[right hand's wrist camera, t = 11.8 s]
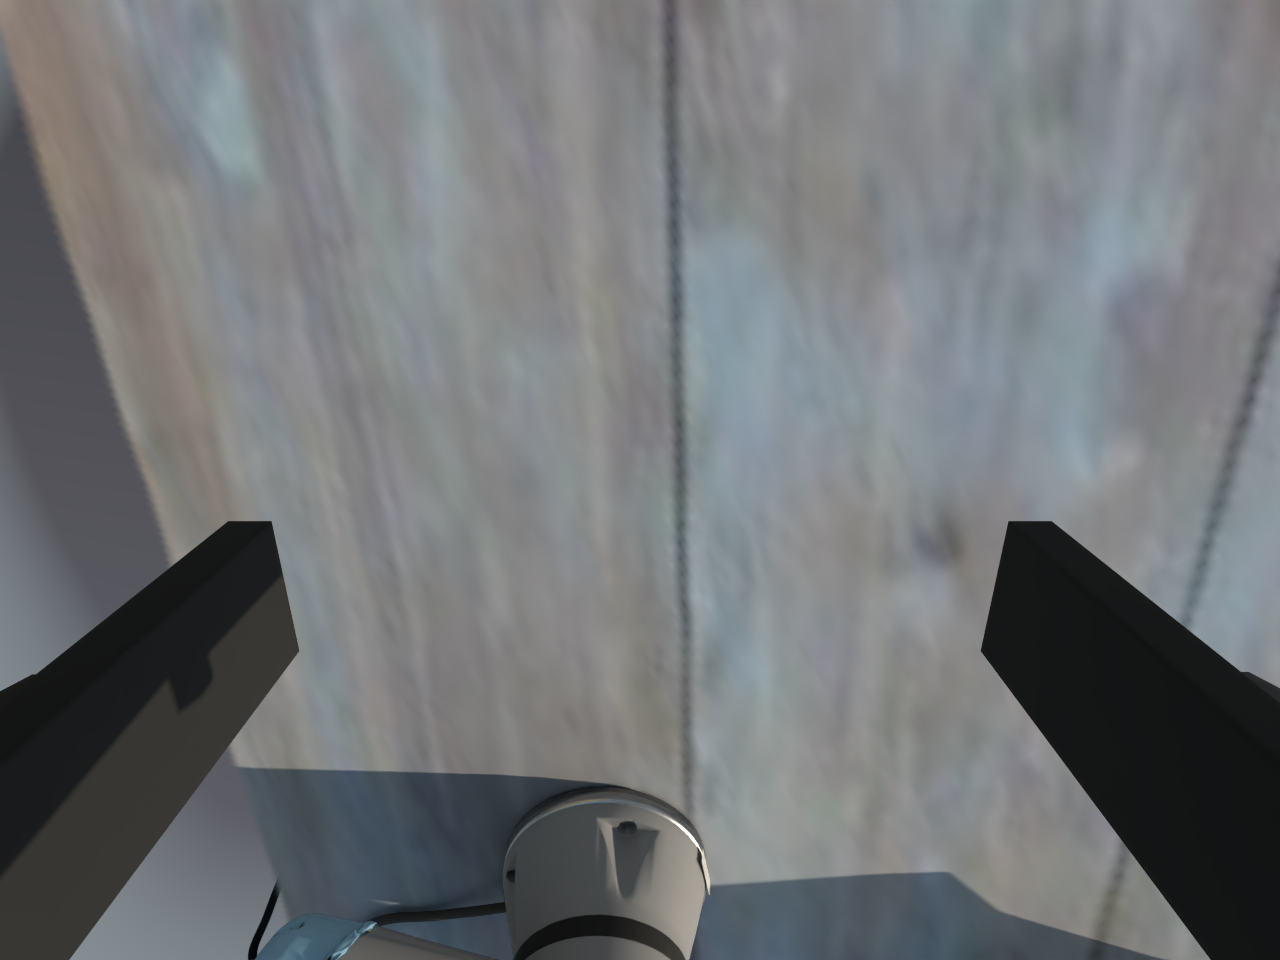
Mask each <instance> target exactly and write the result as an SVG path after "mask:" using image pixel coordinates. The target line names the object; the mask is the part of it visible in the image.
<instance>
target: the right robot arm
mask: <svg viewBox="0 0 1280 960" xmlns="http://www.w3.org/2000/svg"><path fill="white" fill-rule="evenodd" d="M298 652H299V648H298V643H297V638H296V634H295V629H294V624H293V620H292V615H291V610H290V606H289V601H288V596H287V592H286V587H285V582H284V578H283V573H282V568H281V564H280V559H279V554H278V550H277V545H276V540H275V536H274V531H273V526H272V522H271V521H228V522H227V523H226V524H224V525H223V526H222V527H221V528H219V529H218V530H217V531H216V532H214V533H213V534H212V535H211V536H209V537H208V538H207V539H206V540H204V541H203V542H202V543H201V544H199V545H198V546H197V547H196V548H194V549H193V550H192V551H190V552H189V553H188V554H187V555H185V556H184V557H183V558H182V559H180V560H179V561H178V562H177V563H175V564H174V565H173V566H172V567H170V568H169V569H168V570H167V571H165V572H164V573H163V574H162V575H160V576H159V577H158V578H157V579H155V580H154V581H153V582H152V583H150V584H149V585H148V586H147V587H145V588H144V589H143V590H142V591H140V592H139V593H138V594H136V595H135V596H134V597H133V598H131V599H130V600H129V601H128V602H126V603H125V604H124V605H123V606H122V607H120V608H119V609H118V610H116V611H115V612H114V613H113V614H111V615H110V616H109V617H108V618H106V619H105V620H104V621H103V622H101V623H100V624H99V625H98V626H96V627H95V628H94V629H93V630H91V631H90V632H89V633H88V634H86V635H85V636H84V637H82V638H81V639H80V640H79V641H77V642H76V643H75V644H74V645H72V646H71V647H70V648H69V649H67V650H66V651H65V652H64V653H62V654H61V655H60V656H59V657H57V658H56V659H55V660H54V661H52V662H51V663H50V664H49V665H47V666H46V667H45V668H44V669H42V670H41V671H40V672H39V673H37V674H36V675H31V676H29V677H27V678H25V679H23V680H21V681H19V682H17V683H15V684H13V685H11V686H10V687H8V688H6V689H4V690H2V691H0V960H69V959H70V958H71V957H72V955H73V954H74V953H75V951H76V950H77V949H78V947H79V946H80V945H81V943H82V942H83V940H84V939H85V938H86V936H87V935H88V934H89V932H90V931H91V930H92V928H93V927H94V926H95V924H96V923H97V922H98V920H99V919H100V918H101V916H102V915H103V914H104V912H105V911H106V910H107V908H108V907H109V906H110V904H111V903H112V902H113V900H114V899H115V898H116V896H117V895H118V893H119V892H120V891H121V889H122V888H123V887H124V885H125V884H126V883H127V881H128V880H129V879H130V877H131V876H132V875H133V873H134V872H135V871H136V869H137V868H138V867H139V865H140V864H141V863H142V861H143V860H144V859H145V857H146V856H147V855H148V853H149V852H150V851H151V849H152V848H153V847H154V845H155V844H156V842H157V841H158V840H159V838H160V837H161V836H162V834H163V833H164V832H165V830H166V829H167V828H168V826H169V825H170V824H171V822H172V821H173V820H174V818H175V817H176V816H177V814H178V813H179V812H180V810H181V809H182V808H183V806H184V805H185V804H186V802H187V801H188V800H189V798H190V797H191V796H192V794H193V793H194V792H195V790H196V789H197V787H198V786H199V785H200V783H201V782H202V781H203V779H204V778H205V777H206V775H207V774H208V773H209V771H210V770H211V769H212V767H213V766H214V765H215V763H216V762H217V761H218V759H219V758H220V757H221V755H222V754H223V753H224V751H225V750H226V749H227V747H228V746H229V745H230V743H231V742H232V741H233V739H234V738H235V736H236V735H237V734H238V732H239V731H240V730H241V728H242V727H243V726H244V724H245V723H246V722H247V720H248V719H249V718H250V716H251V715H252V714H253V712H254V711H255V710H256V708H257V707H258V706H259V704H260V703H261V702H262V700H263V699H264V698H265V696H266V695H267V694H268V692H269V691H270V690H271V688H272V687H273V685H274V684H275V683H276V681H277V680H278V679H279V677H280V676H281V675H282V673H283V672H284V671H285V669H286V668H287V667H288V665H289V664H290V663H291V661H292V660H293V659H294V657H295V656H296V655H297V653H298ZM981 652H982V653H983V655H984V656H985V657H986V659H987V660H988V661H989V663H990V664H991V665H992V667H993V668H994V669H995V671H996V672H997V673H998V675H999V676H1000V677H1001V679H1002V680H1003V681H1004V683H1005V684H1006V685H1007V687H1008V688H1009V690H1010V691H1011V692H1012V694H1013V695H1014V696H1015V698H1016V699H1017V700H1018V702H1019V703H1020V704H1021V706H1022V707H1023V708H1024V710H1025V711H1026V712H1027V714H1028V715H1029V716H1030V718H1031V719H1032V720H1033V722H1034V723H1035V724H1036V726H1037V727H1038V728H1039V730H1040V731H1041V732H1042V734H1043V735H1044V736H1045V738H1046V739H1047V741H1048V742H1049V743H1050V745H1051V746H1052V747H1053V749H1054V750H1055V751H1056V753H1057V754H1058V755H1059V757H1060V758H1061V759H1062V761H1063V762H1064V763H1065V765H1066V766H1067V767H1068V769H1069V770H1070V771H1071V773H1072V774H1073V775H1074V777H1075V778H1076V779H1077V781H1078V782H1079V783H1080V785H1081V786H1082V787H1083V789H1084V790H1085V792H1086V793H1087V794H1088V796H1089V797H1090V798H1091V800H1092V801H1093V802H1094V804H1095V805H1096V806H1097V808H1098V809H1099V810H1100V812H1101V813H1102V814H1103V816H1104V817H1105V818H1106V820H1107V821H1108V822H1109V824H1110V825H1111V826H1112V828H1113V829H1114V830H1115V832H1116V833H1117V834H1118V836H1119V837H1120V838H1121V840H1122V841H1123V843H1124V844H1125V845H1126V847H1127V848H1128V849H1129V851H1130V852H1131V853H1132V855H1133V856H1134V857H1135V859H1136V860H1137V861H1138V863H1139V864H1140V865H1141V867H1142V868H1143V869H1144V871H1145V872H1146V873H1147V875H1148V876H1149V877H1150V879H1151V880H1152V881H1153V883H1154V884H1155V885H1156V887H1157V888H1158V889H1159V891H1160V892H1161V894H1162V895H1163V896H1164V898H1165V899H1166V900H1167V902H1168V903H1169V904H1170V906H1171V907H1172V908H1173V910H1174V911H1175V912H1176V914H1177V915H1178V916H1179V918H1180V919H1181V920H1182V922H1183V923H1184V924H1185V926H1186V927H1187V928H1188V930H1189V931H1190V932H1191V934H1192V935H1193V936H1194V938H1195V939H1196V940H1197V942H1198V943H1199V945H1200V946H1201V947H1202V949H1203V950H1204V951H1205V953H1206V954H1207V955H1208V957H1209V958H1210V959H1211V960H1280V688H1278V687H1276V686H1274V685H1272V684H1271V683H1269V682H1267V681H1265V680H1263V679H1261V678H1259V677H1257V676H1255V675H1253V674H1251V673H1250V672H1240V671H1239V670H1238V669H1236V668H1235V667H1234V666H1233V665H1231V664H1230V663H1229V662H1228V661H1226V660H1225V659H1224V658H1223V657H1221V656H1220V655H1219V654H1218V653H1216V652H1215V651H1214V650H1213V649H1211V648H1210V647H1209V646H1208V645H1206V644H1205V643H1204V642H1203V641H1201V640H1200V639H1199V638H1198V637H1196V636H1195V635H1194V634H1192V633H1191V632H1190V631H1189V630H1187V629H1186V628H1185V627H1184V626H1182V625H1181V624H1180V623H1179V622H1177V621H1176V620H1175V619H1174V618H1172V617H1171V616H1170V615H1169V614H1167V613H1166V612H1165V611H1164V610H1162V609H1161V608H1160V607H1159V606H1157V605H1156V604H1155V603H1154V602H1152V601H1151V600H1150V599H1149V598H1147V597H1146V596H1145V595H1144V594H1142V593H1141V592H1140V591H1138V590H1137V589H1136V588H1135V587H1133V586H1132V585H1131V584H1130V583H1128V582H1127V581H1126V580H1125V579H1123V578H1122V577H1121V576H1120V575H1118V574H1117V573H1116V572H1115V571H1113V570H1112V569H1111V568H1110V567H1108V566H1107V565H1106V564H1105V563H1103V562H1102V561H1101V560H1100V559H1098V558H1097V557H1096V556H1095V555H1093V554H1092V553H1091V552H1090V551H1088V550H1087V549H1086V548H1084V547H1083V546H1082V545H1081V544H1079V543H1078V542H1077V541H1076V540H1074V539H1073V538H1072V537H1071V536H1069V535H1068V534H1067V533H1066V532H1064V531H1063V530H1062V529H1061V528H1059V527H1058V526H1057V525H1056V524H1054V523H1053V522H1052V521H1009V522H1008V526H1007V531H1006V536H1005V540H1004V545H1003V550H1002V554H1001V559H1000V564H999V568H998V573H997V578H996V582H995V587H994V592H993V596H992V601H991V606H990V610H989V615H988V620H987V624H986V629H985V634H984V638H983V643H982V648H981ZM706 885H707V888H708V892H709V893H710V879H709V874H708V869H707V865H706V858H705V851H704V846H703V843H702V841H701V838H700V836H699V834H698V832H697V831H696V829H695V828H694V826H693V825H692V824H691V823H690V821H689V820H688V819H687V818H686V817H685V816H684V815H683V814H681V813H680V812H679V811H678V810H676V809H675V808H674V807H672V806H670V805H669V804H667V803H665V802H664V801H662V800H660V799H658V798H655V797H653V796H650V795H647V794H644V793H641V792H637V791H633V790H628V789H622V788H612V787H597V788H586V789H580V790H575V791H570V792H567V793H564V794H561V795H558V796H556V797H553V798H551V799H549V800H547V801H545V802H543V803H542V804H540V805H538V806H537V807H535V808H534V809H533V810H532V811H530V812H529V813H528V814H527V815H526V816H525V817H524V818H523V819H522V820H521V821H520V822H519V824H518V825H517V826H516V828H515V829H514V831H513V833H512V835H511V837H510V840H509V843H508V846H507V851H506V856H505V861H504V866H503V892H504V899H505V902H502V903H495V904H488V905H480V906H472V907H464V908H455V909H446V910H437V911H423V912H401V913H393V914H387V915H383V916H379V917H376V918H374V919H371V920H370V921H367V922H365V923H362V922H356V921H351V920H346V919H341V918H336V917H331V916H327V915H322V914H307V915H303V916H300V917H297V918H295V919H293V920H292V921H290V922H288V923H287V924H286V925H284V926H283V927H282V928H281V929H280V930H279V931H278V932H277V933H276V934H275V935H274V936H273V937H272V938H271V939H270V941H269V942H268V943H267V944H266V945H265V947H264V948H263V949H262V951H261V952H260V953H259V954H258V956H257V952H258V947H259V944H260V941H261V939H262V936H263V934H264V932H265V930H266V928H267V925H268V923H269V921H270V918H271V916H272V913H273V910H274V907H275V905H276V902H277V899H278V896H279V894H280V892H279V888H278V885H277V882H276V883H275V886H274V888H273V891H272V893H271V896H270V898H269V901H268V904H267V907H266V909H265V912H264V914H263V917H262V919H261V922H260V924H259V926H258V928H257V930H256V933H255V935H254V937H253V939H252V942H251V944H250V947H249V951H248V960H497V959H493V958H490V957H486V956H482V955H478V954H475V953H471V952H467V951H464V950H460V949H456V948H453V947H449V946H445V945H441V944H438V943H434V942H430V941H427V940H423V939H420V938H416V937H413V936H409V935H406V934H403V933H399V932H396V931H393V930H389V929H386V928H382V927H379V926H383V925H386V924H391V923H399V922H422V921H436V920H445V919H454V918H464V917H472V916H481V915H488V914H496V913H503V912H507V919H508V925H509V932H510V938H511V945H512V951H513V960H689V958H690V954H691V950H692V946H693V942H694V938H695V934H696V930H697V926H698V922H699V917H700V913H701V908H702V906H703V903H704V900H705V895H706Z"/></svg>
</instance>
